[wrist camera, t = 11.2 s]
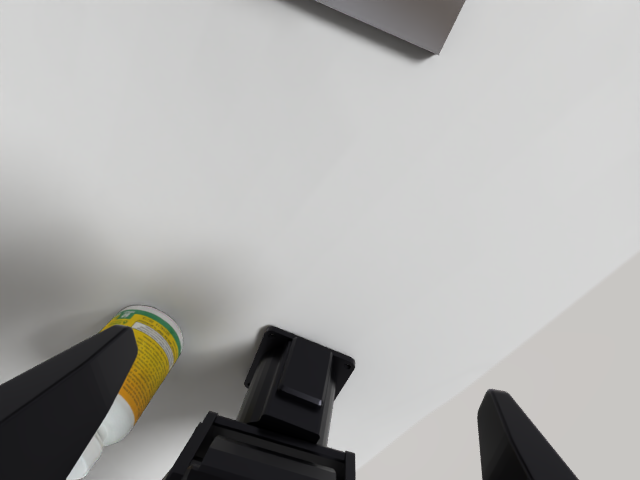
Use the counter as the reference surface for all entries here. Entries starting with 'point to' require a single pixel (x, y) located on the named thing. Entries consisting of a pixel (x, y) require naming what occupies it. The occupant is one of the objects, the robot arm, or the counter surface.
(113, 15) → the counter surface
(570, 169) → the counter surface
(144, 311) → the supplement bottle
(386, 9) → the end holder
